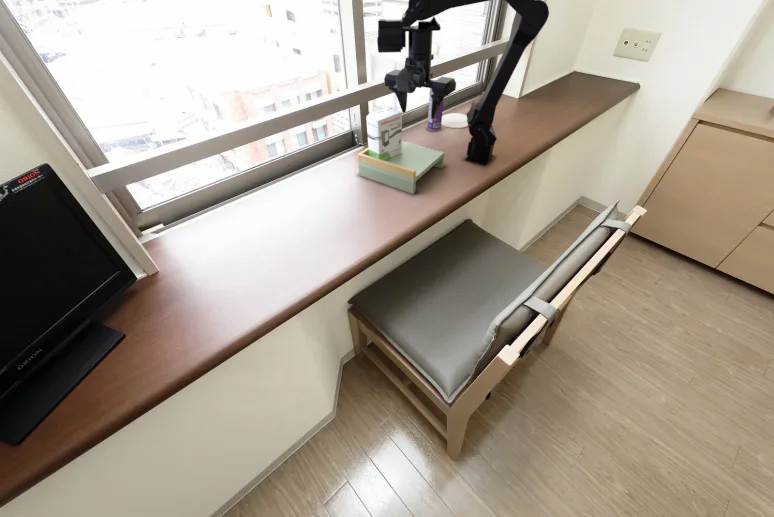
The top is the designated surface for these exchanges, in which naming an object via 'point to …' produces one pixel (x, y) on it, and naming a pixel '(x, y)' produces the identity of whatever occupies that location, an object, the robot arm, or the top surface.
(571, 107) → the top surface
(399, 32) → the robot arm
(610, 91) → the top surface
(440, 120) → the container
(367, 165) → the shelf
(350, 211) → the top surface
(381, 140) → the ink box
